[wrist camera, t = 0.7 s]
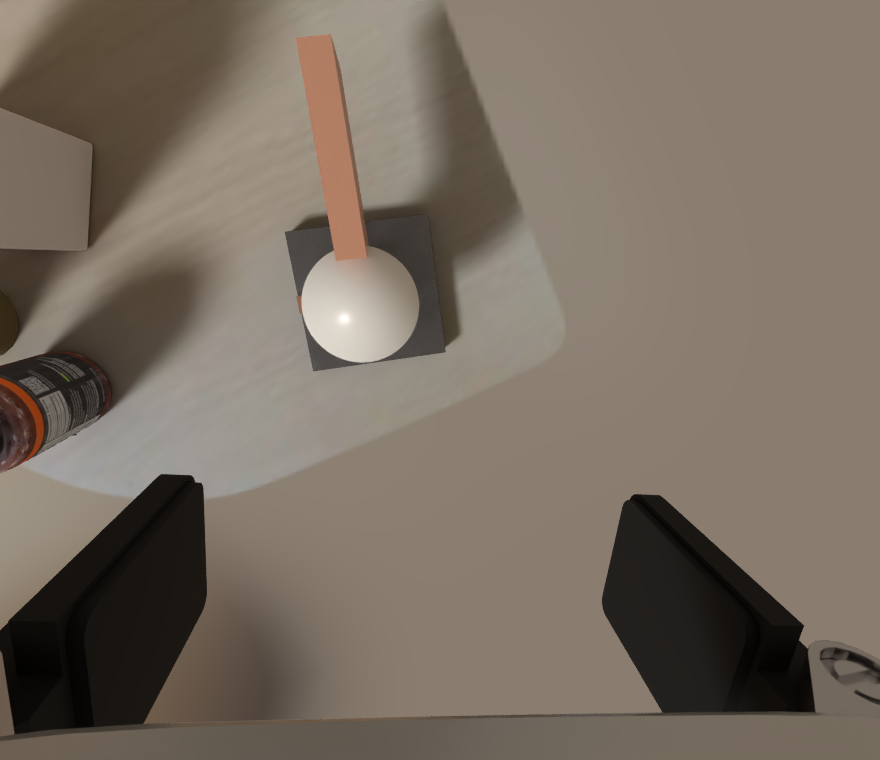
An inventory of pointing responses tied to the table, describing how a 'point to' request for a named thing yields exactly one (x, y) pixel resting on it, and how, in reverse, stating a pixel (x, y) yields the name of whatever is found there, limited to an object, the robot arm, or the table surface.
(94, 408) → the supplement bottle
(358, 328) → the orange bar with ball
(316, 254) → the coupling base
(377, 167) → the table surface
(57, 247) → the milk carton
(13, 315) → the olive pear
